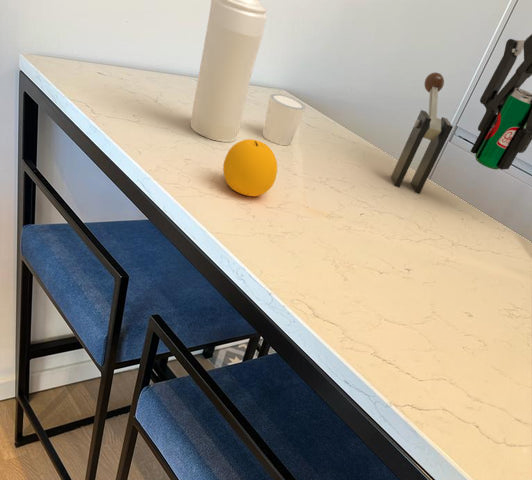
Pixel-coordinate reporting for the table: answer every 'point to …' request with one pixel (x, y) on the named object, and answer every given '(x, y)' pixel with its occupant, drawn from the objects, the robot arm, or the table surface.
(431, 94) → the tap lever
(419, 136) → the dark brown parallel bars
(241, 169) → the orange fruit
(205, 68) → the spray can
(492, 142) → the soda can
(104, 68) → the table surface
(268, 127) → the white cylinder
